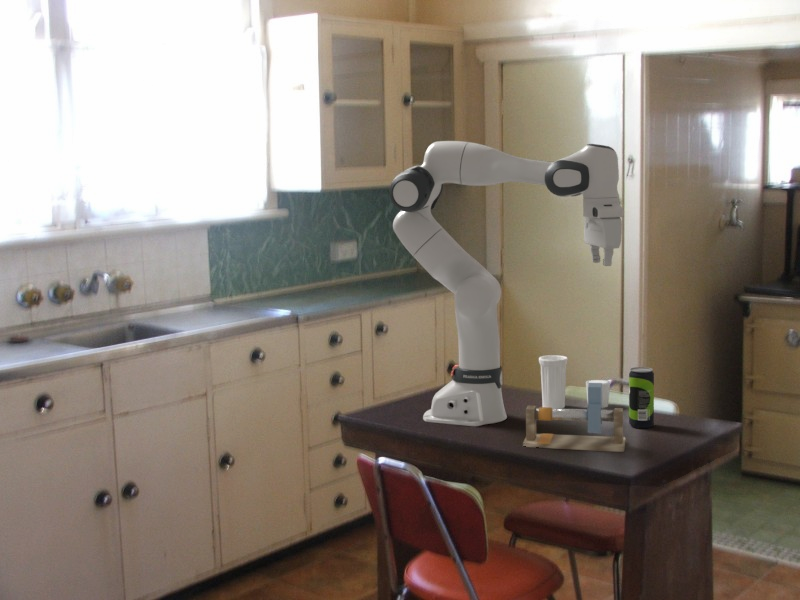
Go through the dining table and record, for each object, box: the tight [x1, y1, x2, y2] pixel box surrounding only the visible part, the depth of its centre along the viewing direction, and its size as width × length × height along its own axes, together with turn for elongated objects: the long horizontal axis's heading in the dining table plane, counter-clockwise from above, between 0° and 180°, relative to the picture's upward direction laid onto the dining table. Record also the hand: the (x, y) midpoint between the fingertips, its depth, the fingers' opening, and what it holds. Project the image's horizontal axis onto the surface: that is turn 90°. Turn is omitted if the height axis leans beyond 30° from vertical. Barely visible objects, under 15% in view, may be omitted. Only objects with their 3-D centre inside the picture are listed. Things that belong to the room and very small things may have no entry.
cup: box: [538, 354, 569, 409], centre depth 297 cm, size 8×8×14 cm
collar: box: [587, 383, 603, 434], centre depth 257 cm, size 3×7×11 cm, turn 166°
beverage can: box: [628, 366, 655, 430], centre depth 275 cm, size 6×6×15 cm
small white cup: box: [585, 379, 611, 409], centre depth 299 cm, size 7×7×7 cm
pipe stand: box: [522, 405, 626, 453], centre depth 259 cm, size 24×9×9 cm, turn 76°
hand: (601, 264), depth 268 cm, fingers open, 8 cm apart
